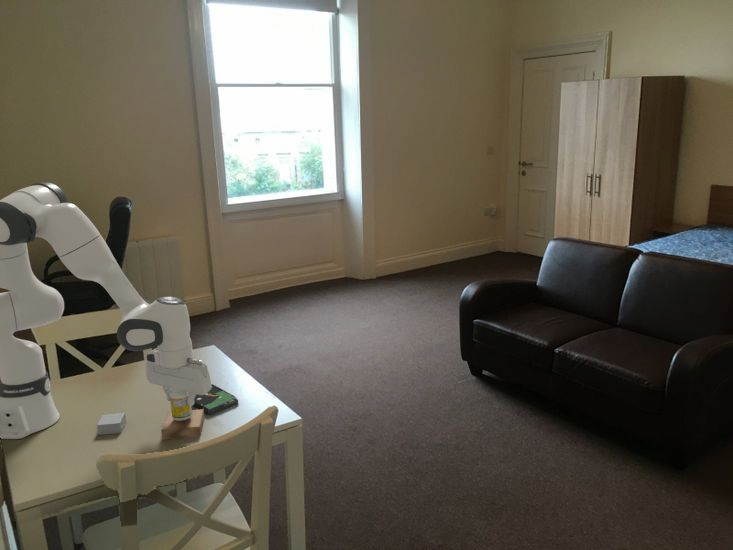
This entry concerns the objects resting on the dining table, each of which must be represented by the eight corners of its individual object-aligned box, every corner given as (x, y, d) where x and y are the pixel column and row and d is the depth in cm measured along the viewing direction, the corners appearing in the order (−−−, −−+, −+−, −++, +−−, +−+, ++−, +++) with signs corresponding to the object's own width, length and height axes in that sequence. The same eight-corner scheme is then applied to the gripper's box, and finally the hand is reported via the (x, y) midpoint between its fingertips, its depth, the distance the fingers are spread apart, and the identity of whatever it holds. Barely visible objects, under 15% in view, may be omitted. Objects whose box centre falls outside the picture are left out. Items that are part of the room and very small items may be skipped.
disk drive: (183, 402, 185) (209, 418, 175) (182, 394, 185) (208, 409, 174) (212, 391, 192) (239, 405, 182) (212, 383, 192) (238, 396, 182)
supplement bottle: (188, 421, 164) (184, 389, 162) (168, 420, 165) (165, 388, 162) (195, 412, 170) (192, 380, 167) (176, 411, 170) (173, 380, 168)
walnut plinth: (162, 439, 163) (161, 429, 162) (168, 421, 172) (167, 412, 172) (200, 436, 164) (199, 426, 163) (204, 418, 174) (203, 409, 173)
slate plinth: (98, 434, 166) (96, 425, 165) (104, 424, 172) (102, 414, 171) (121, 432, 167) (119, 423, 166) (126, 422, 173) (125, 412, 172)
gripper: (214, 357, 161) (218, 404, 165) (156, 346, 170) (161, 391, 173) (198, 366, 155) (202, 415, 159) (139, 353, 164) (145, 400, 168)
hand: (180, 402), depth 166 cm, fingers closed on supplement bottle, 5 cm apart
